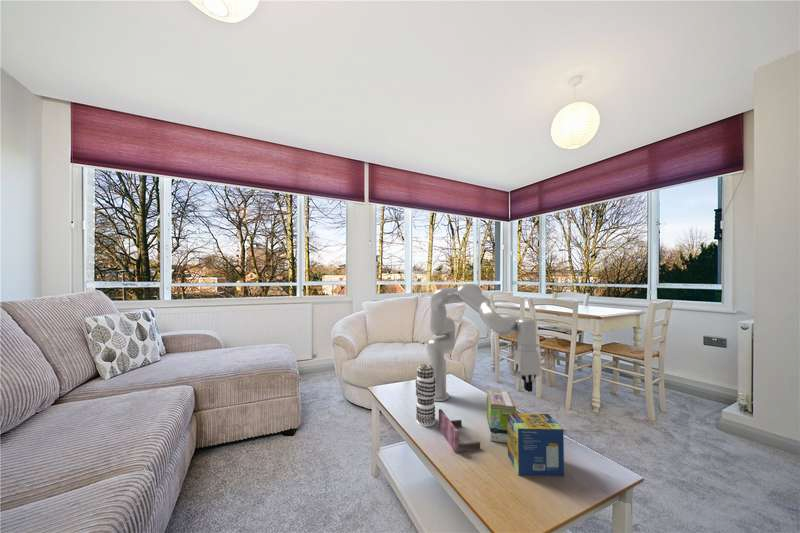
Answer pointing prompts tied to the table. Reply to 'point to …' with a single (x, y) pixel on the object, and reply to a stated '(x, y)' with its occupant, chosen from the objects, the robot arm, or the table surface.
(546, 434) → the protein box
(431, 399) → the decorative candle
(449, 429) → the stand
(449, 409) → the table surface
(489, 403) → the tea box
